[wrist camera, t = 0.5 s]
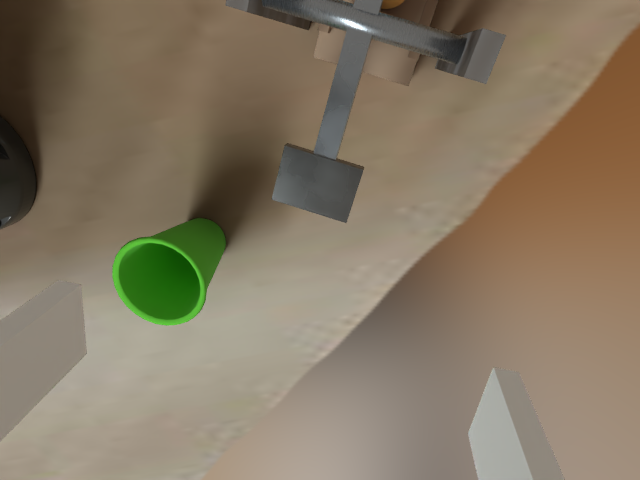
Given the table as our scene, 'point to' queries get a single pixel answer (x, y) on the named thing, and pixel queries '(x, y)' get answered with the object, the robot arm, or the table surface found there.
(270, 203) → the table surface
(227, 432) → the table surface
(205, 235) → the cup
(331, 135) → the lever
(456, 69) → the grey angular frame
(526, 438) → the robot arm
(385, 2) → the ball
